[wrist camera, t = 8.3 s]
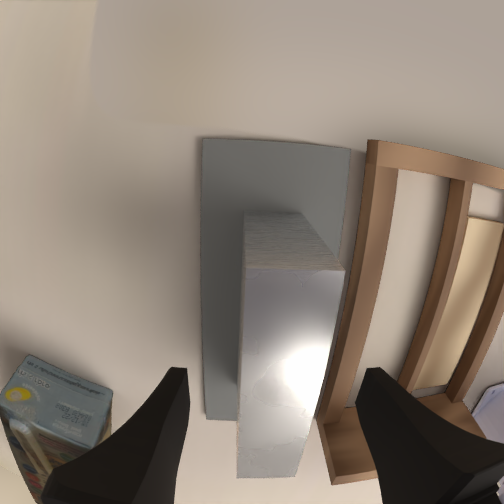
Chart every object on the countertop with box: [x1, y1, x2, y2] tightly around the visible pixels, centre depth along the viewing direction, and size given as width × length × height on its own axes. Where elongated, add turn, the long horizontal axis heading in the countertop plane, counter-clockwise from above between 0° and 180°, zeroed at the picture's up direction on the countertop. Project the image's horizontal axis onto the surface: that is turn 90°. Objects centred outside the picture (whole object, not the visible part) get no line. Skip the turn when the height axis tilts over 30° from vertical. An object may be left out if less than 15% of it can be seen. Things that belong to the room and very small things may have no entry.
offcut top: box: [413, 216, 504, 390], centre depth 18 cm, size 4×13×1 cm, turn 176°
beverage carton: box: [0, 355, 113, 504], centre depth 19 cm, size 8×19×7 cm, turn 160°
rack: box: [316, 140, 504, 485], centre depth 15 cm, size 12×19×6 cm, turn 177°
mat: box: [201, 139, 351, 421], centre depth 17 cm, size 7×18×1 cm, turn 177°
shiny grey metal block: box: [237, 210, 346, 478], centre depth 14 cm, size 3×11×7 cm, turn 177°
